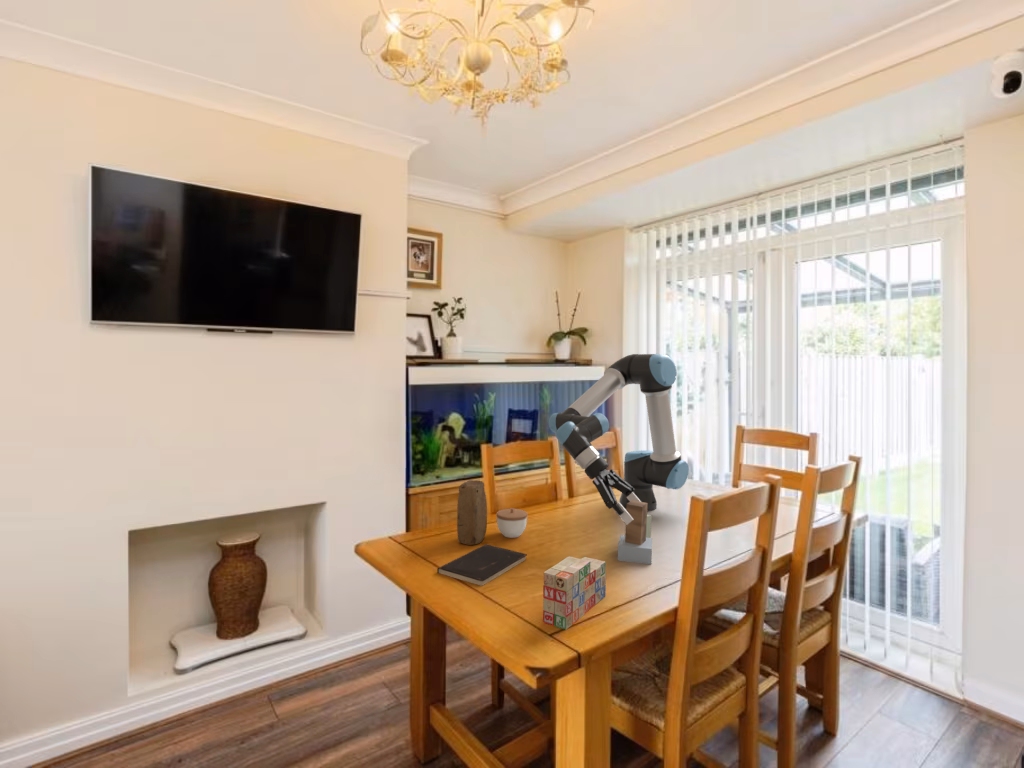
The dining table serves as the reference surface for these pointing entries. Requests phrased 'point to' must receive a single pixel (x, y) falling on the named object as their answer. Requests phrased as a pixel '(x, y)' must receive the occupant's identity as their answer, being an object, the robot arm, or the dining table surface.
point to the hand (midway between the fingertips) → (637, 516)
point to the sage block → (648, 527)
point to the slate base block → (635, 551)
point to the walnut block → (636, 522)
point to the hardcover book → (482, 564)
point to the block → (471, 512)
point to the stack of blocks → (572, 590)
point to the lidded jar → (511, 522)
